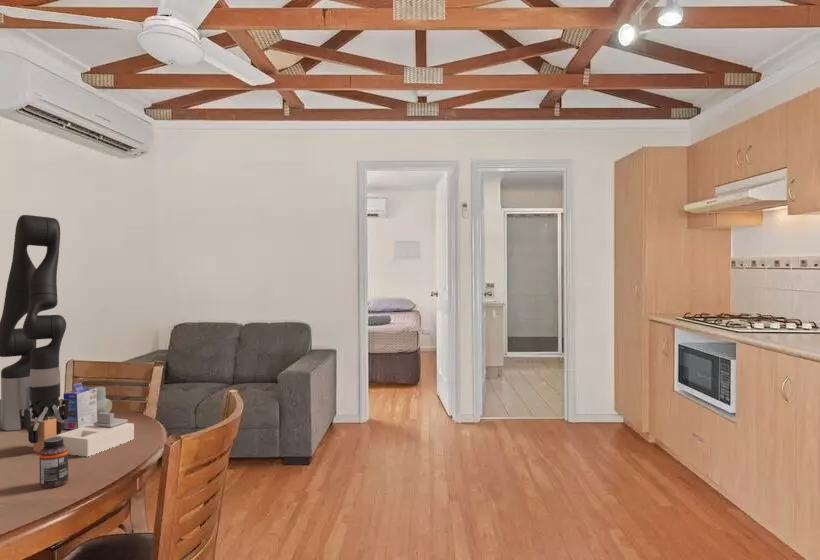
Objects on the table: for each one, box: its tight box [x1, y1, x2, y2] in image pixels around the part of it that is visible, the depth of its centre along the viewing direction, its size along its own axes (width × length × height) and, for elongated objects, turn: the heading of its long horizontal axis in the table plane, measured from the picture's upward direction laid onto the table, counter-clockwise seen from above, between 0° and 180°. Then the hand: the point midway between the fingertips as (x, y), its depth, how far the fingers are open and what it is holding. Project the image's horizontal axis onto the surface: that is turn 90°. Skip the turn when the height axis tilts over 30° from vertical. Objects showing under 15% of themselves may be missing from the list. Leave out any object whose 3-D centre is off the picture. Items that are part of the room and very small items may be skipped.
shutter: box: [93, 412, 129, 427], centre depth 169 cm, size 7×6×4 cm
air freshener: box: [94, 386, 113, 413], centre depth 199 cm, size 11×8×10 cm
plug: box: [33, 417, 56, 453], centre depth 160 cm, size 4×4×11 cm
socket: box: [55, 422, 135, 458], centre depth 164 cm, size 12×17×5 cm
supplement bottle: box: [39, 437, 69, 489], centre depth 134 cm, size 6×6×11 cm
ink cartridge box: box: [63, 382, 97, 430], centre depth 186 cm, size 10×6×14 cm, turn 174°
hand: (45, 439), depth 160 cm, fingers open, 6 cm apart
